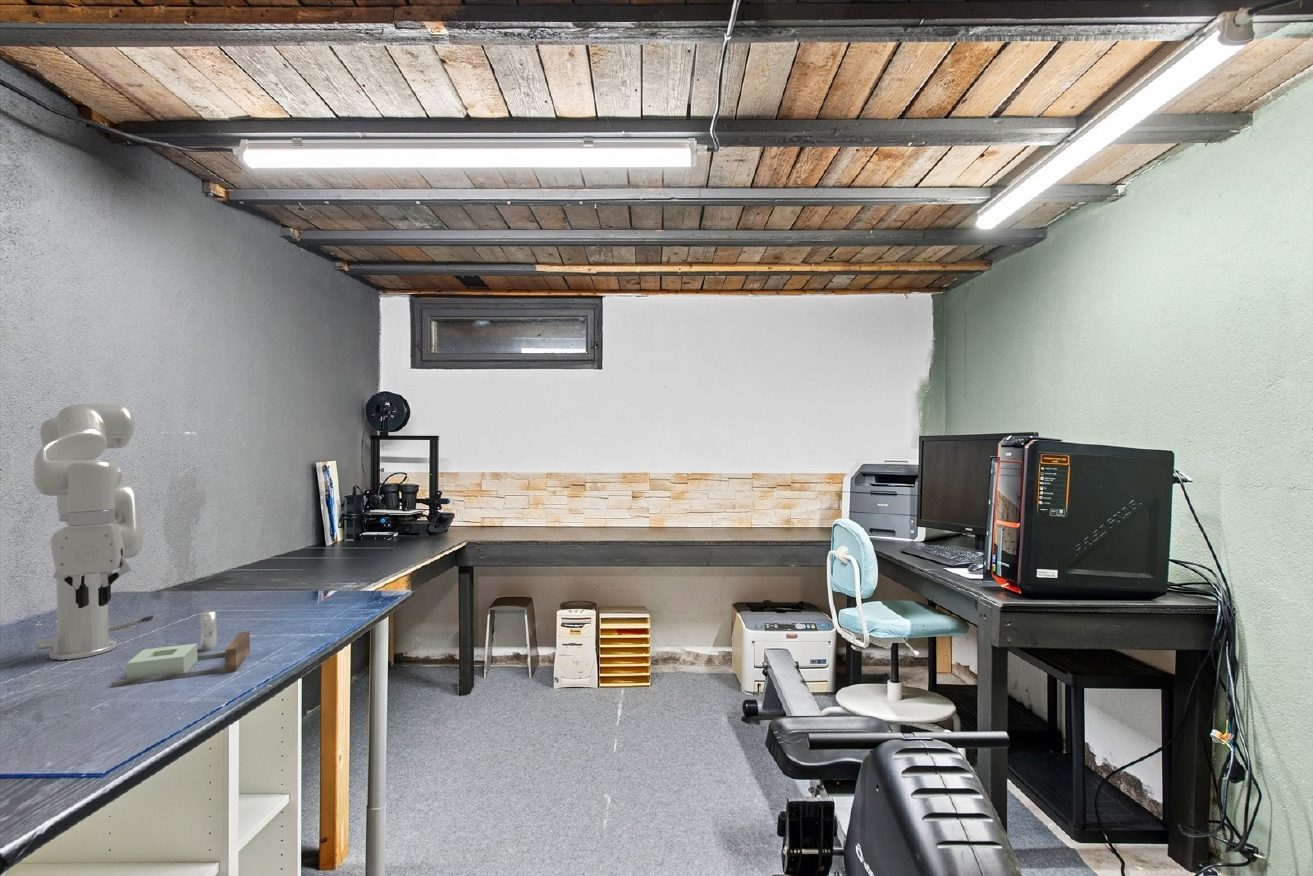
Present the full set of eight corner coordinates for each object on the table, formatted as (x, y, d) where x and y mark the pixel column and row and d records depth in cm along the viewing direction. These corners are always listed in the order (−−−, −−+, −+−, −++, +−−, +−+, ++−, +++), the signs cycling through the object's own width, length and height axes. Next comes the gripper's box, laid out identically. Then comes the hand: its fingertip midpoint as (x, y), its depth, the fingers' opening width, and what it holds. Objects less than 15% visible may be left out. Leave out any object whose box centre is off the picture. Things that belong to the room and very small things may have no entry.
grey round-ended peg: (199, 656, 156) (198, 615, 156) (203, 652, 159) (202, 611, 159) (215, 654, 157) (214, 613, 157) (218, 651, 160) (217, 610, 160)
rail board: (86, 697, 131) (85, 666, 131) (114, 674, 144) (113, 646, 144) (236, 676, 141) (235, 648, 141) (250, 657, 154) (249, 631, 154)
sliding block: (126, 682, 136) (126, 663, 136) (144, 667, 145) (143, 649, 145) (184, 675, 139) (183, 656, 139) (197, 660, 149) (197, 643, 149)
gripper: (33, 523, 131) (35, 614, 131) (132, 518, 137) (134, 605, 137) (51, 519, 138) (53, 606, 138) (145, 514, 144) (146, 597, 144)
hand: (93, 605), depth 138 cm, fingers open, 2 cm apart
